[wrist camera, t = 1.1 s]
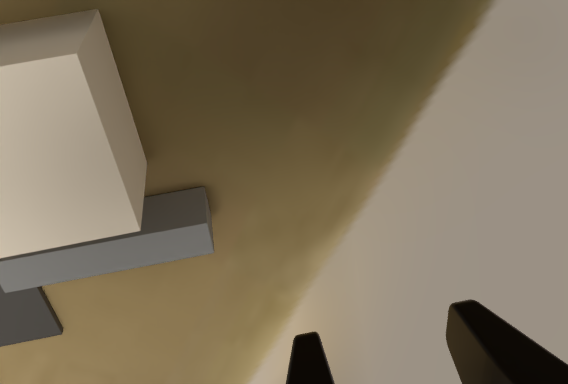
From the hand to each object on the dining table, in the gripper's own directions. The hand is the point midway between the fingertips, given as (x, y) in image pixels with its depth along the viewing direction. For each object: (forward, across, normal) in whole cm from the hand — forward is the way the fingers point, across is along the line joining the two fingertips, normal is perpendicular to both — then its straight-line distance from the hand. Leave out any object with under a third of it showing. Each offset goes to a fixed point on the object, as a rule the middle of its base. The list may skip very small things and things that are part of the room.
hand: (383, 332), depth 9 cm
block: (+13, +8, 0) cm, 15 cm away
